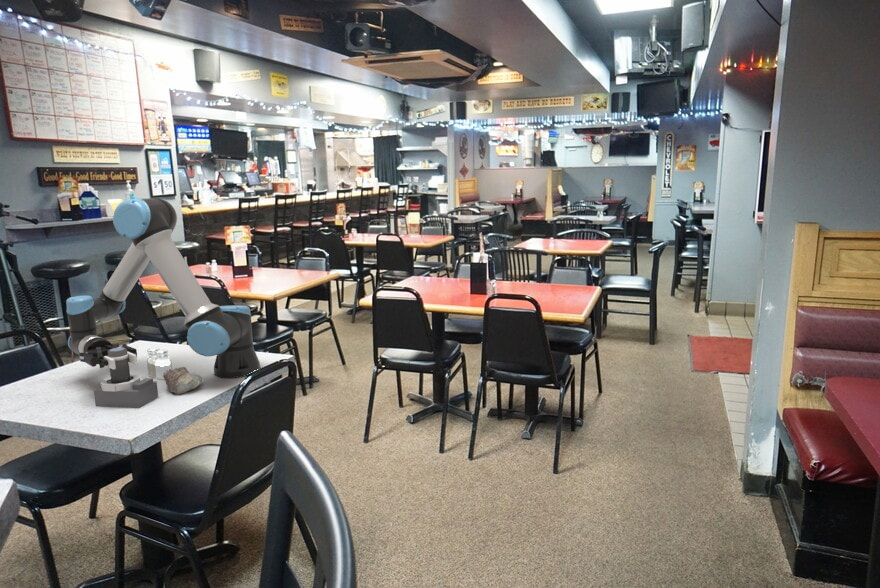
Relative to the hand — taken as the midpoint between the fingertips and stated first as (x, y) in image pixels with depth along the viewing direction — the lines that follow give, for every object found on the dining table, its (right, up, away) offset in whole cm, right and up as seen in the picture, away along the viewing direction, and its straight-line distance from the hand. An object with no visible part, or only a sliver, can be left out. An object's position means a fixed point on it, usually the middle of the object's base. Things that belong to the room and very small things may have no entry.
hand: (124, 362), depth 169 cm
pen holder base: (-2, -12, +6) cm, 14 cm away
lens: (-4, -8, +5) cm, 10 cm away
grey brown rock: (+10, -11, +16) cm, 22 cm away
